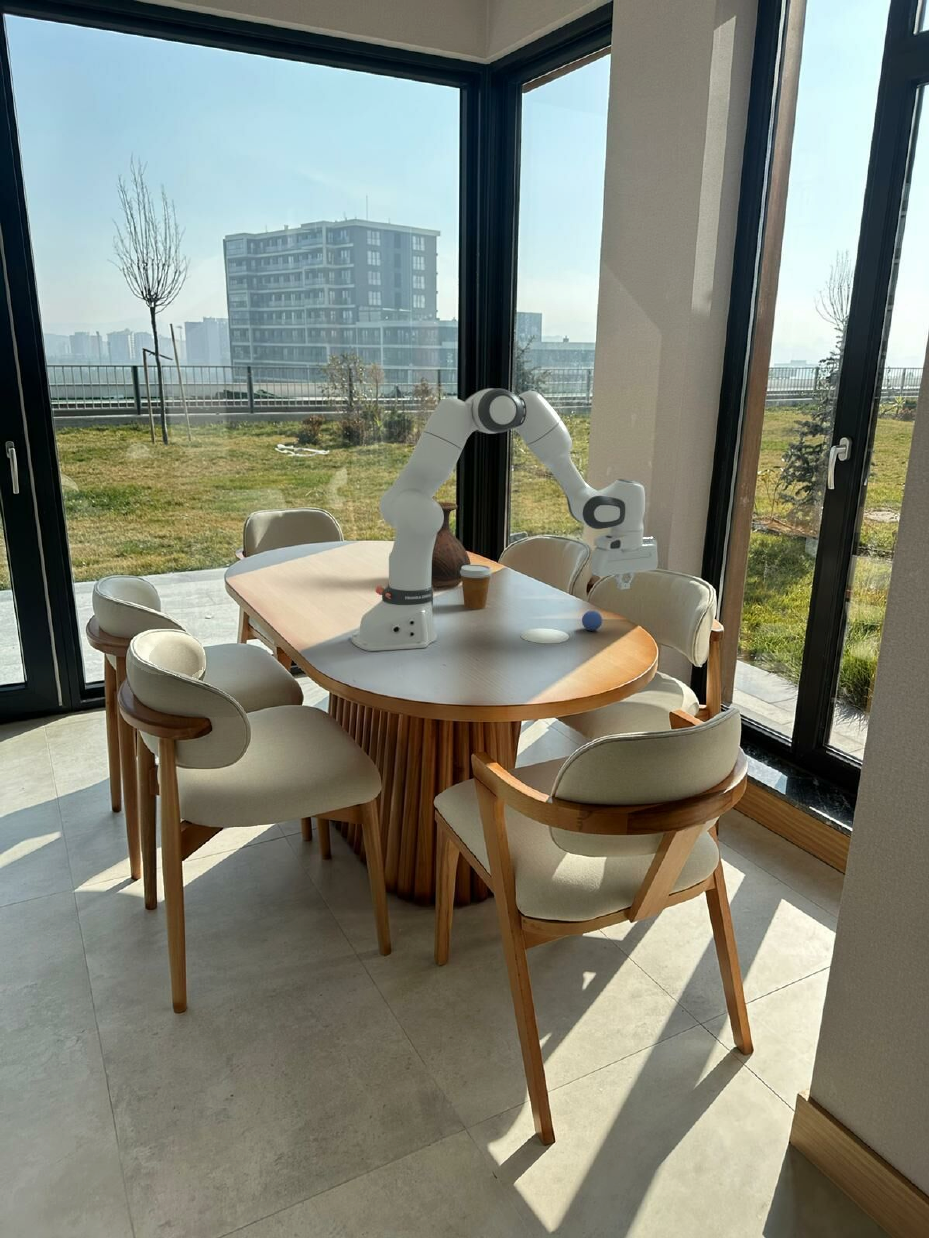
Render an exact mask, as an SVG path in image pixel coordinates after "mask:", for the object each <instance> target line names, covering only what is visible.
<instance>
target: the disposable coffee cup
mask: <svg viewBox="0 0 929 1238" xmlns="http://www.w3.org/2000/svg"><path fill="white" fill-rule="evenodd" d="M460 573H461V577H462V582H461V584H462V585H461V586H462V595H463V596H462V597H463V605H464V608H466V609H468V610H481V609H485V608H486V605H487V599H488V592H489V586H490V578H491V575H492V573H493V572H492V569H491V567H490V566H488V565H484V564H483V565H482V564H471V565H465V566H462V567H461V570H460Z"/></svg>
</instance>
